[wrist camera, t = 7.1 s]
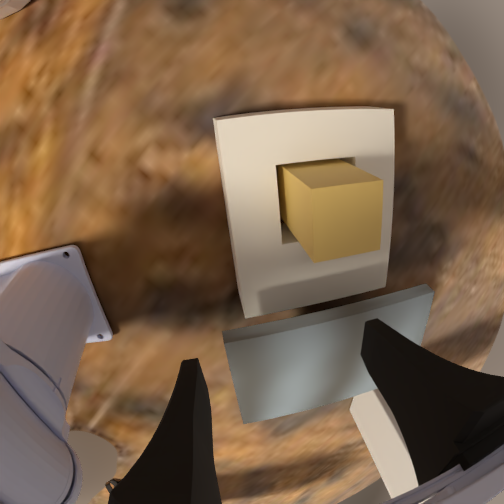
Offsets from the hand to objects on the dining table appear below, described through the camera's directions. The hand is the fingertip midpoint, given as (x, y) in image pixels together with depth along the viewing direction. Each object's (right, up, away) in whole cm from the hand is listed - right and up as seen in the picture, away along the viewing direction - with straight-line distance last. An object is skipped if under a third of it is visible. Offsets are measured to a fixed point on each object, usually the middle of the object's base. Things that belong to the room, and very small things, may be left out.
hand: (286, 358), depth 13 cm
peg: (+2, +9, +7) cm, 12 cm away
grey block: (+3, 0, +12) cm, 12 cm away
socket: (+2, +9, +7) cm, 11 cm away
